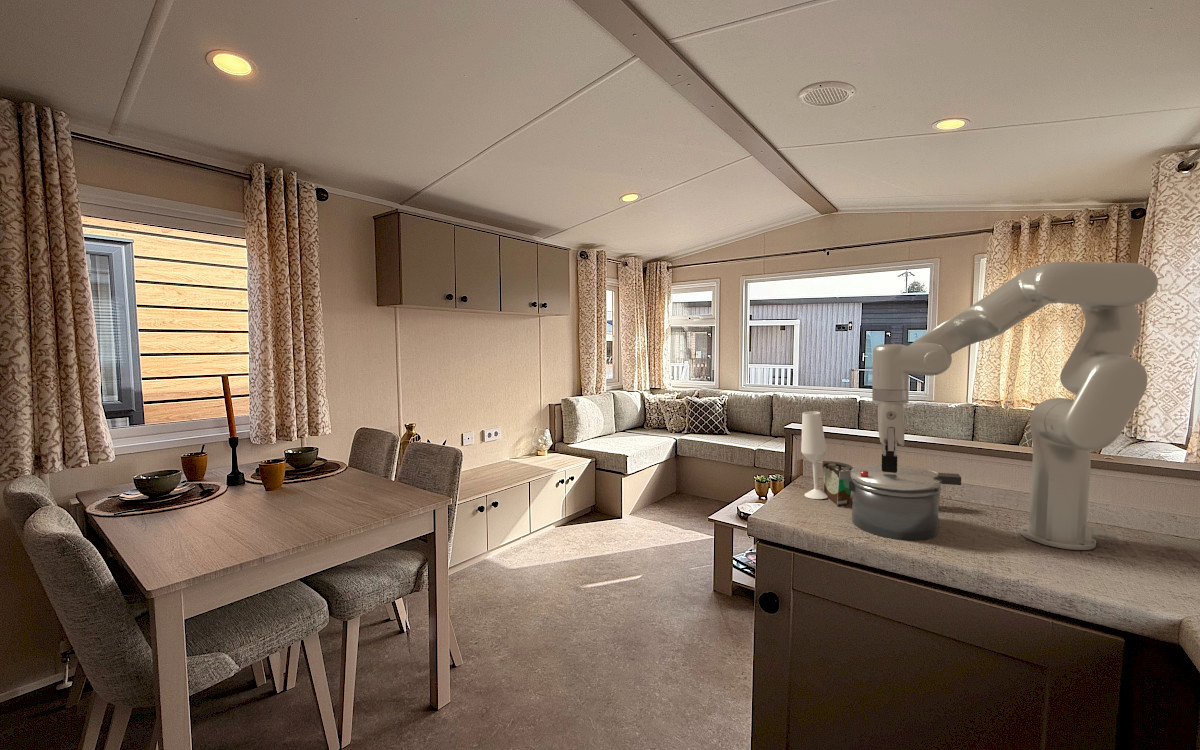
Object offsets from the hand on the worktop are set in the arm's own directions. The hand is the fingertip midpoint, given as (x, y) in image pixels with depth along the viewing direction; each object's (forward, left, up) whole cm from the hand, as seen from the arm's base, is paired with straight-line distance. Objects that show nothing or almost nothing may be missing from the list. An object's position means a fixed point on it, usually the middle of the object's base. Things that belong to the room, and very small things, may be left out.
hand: (889, 471), depth 123 cm
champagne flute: (+17, -17, -13) cm, 27 cm away
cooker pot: (-1, 0, -13) cm, 13 cm away
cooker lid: (-3, 0, -2) cm, 3 cm away
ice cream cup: (+11, -15, -14) cm, 23 cm away
